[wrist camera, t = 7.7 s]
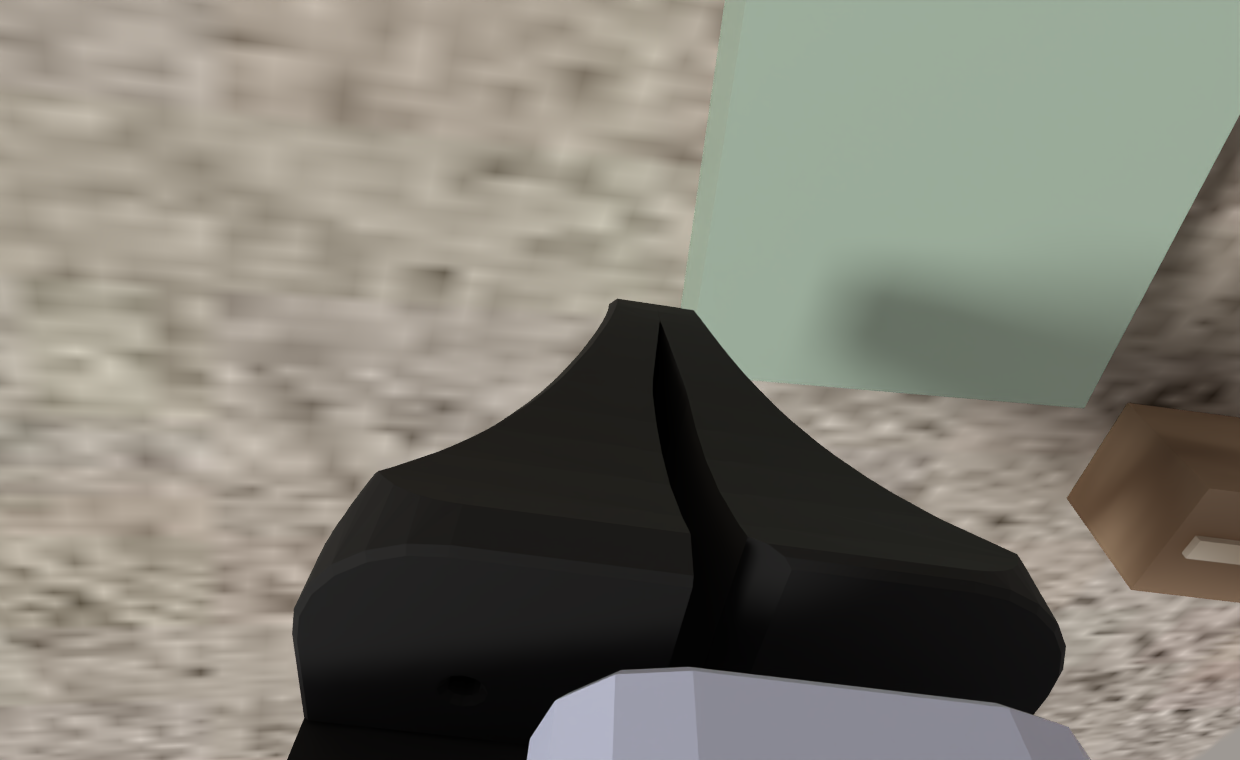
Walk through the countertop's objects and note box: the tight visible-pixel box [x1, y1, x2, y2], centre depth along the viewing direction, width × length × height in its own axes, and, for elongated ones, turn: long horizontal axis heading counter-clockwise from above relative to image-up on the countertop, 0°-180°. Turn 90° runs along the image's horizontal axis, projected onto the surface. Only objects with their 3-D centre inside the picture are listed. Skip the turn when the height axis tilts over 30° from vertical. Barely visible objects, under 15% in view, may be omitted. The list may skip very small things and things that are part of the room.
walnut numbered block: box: [1067, 403, 1240, 603], centre depth 22 cm, size 4×4×4 cm
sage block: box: [681, 0, 1240, 408], centre depth 17 cm, size 10×10×4 cm
